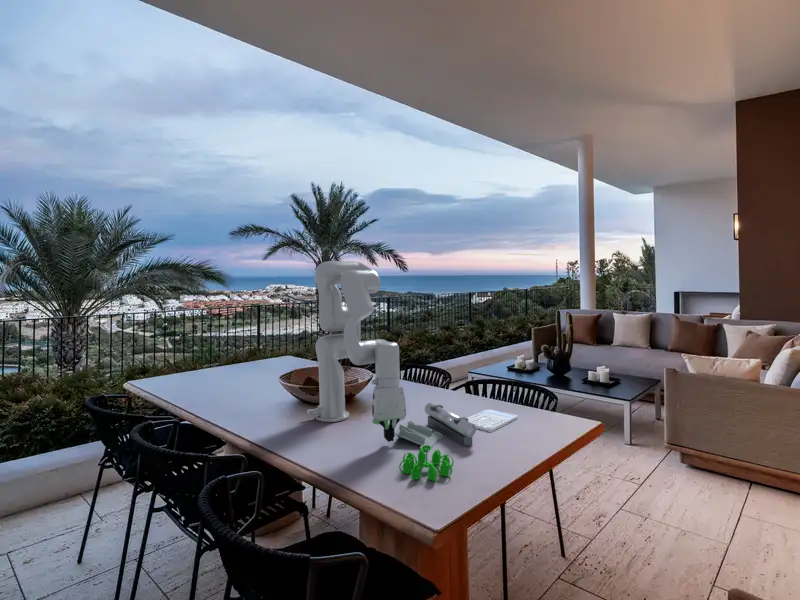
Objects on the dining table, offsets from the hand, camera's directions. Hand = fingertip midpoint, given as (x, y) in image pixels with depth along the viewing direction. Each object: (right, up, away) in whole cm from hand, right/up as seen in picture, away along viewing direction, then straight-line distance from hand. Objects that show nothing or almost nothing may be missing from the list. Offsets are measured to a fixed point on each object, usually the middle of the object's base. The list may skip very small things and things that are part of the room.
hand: (389, 439), depth 135 cm
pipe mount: (+20, -1, +9) cm, 22 cm away
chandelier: (+11, -3, -19) cm, 22 cm away
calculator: (+36, -1, +22) cm, 42 cm away
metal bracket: (+9, -2, +4) cm, 10 cm away
